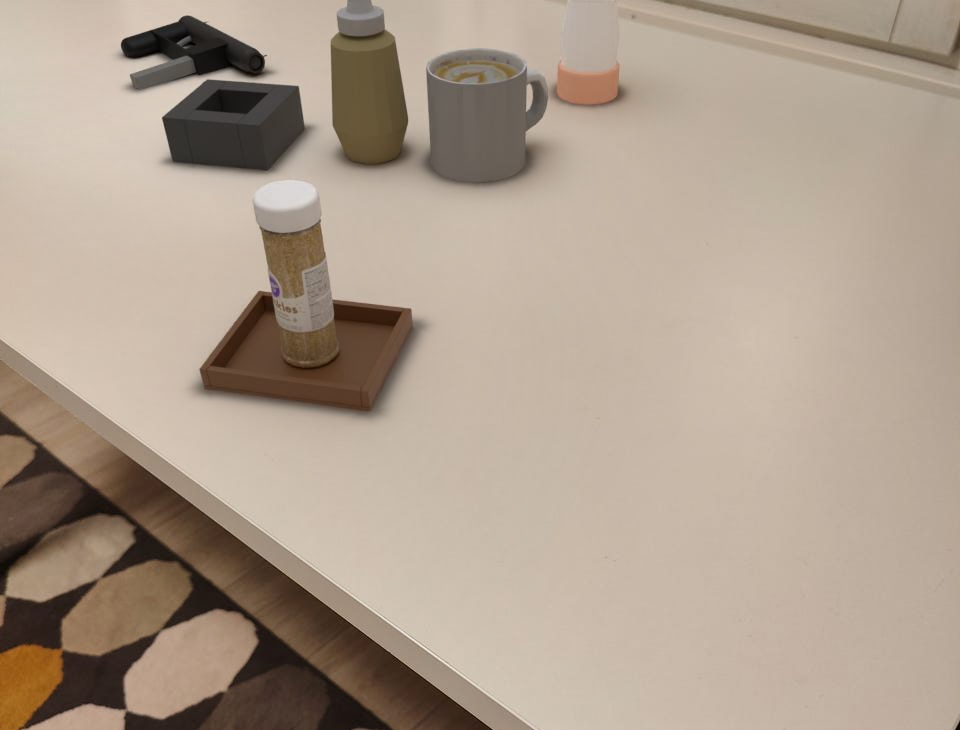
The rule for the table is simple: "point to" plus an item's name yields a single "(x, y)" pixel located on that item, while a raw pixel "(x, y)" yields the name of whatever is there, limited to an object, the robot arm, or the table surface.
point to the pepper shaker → (589, 52)
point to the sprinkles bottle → (297, 271)
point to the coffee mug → (481, 113)
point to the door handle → (189, 52)
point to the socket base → (234, 124)
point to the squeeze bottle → (367, 85)
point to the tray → (341, 382)
